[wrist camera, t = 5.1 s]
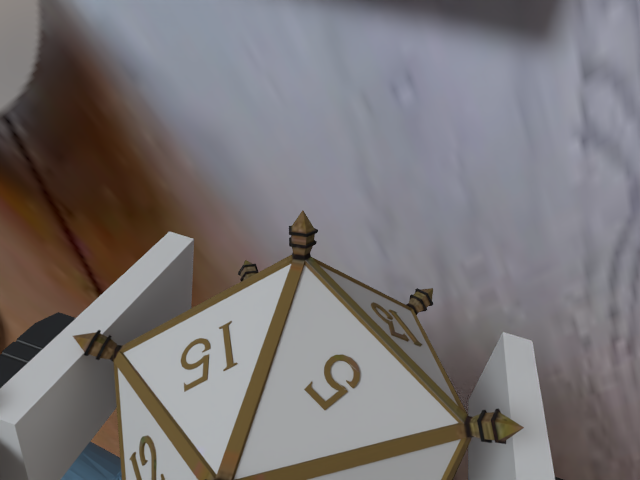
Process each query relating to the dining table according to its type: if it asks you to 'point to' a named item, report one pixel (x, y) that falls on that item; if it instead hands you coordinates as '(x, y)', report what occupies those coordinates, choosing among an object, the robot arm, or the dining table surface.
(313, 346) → the game die
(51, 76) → the dining table surface
